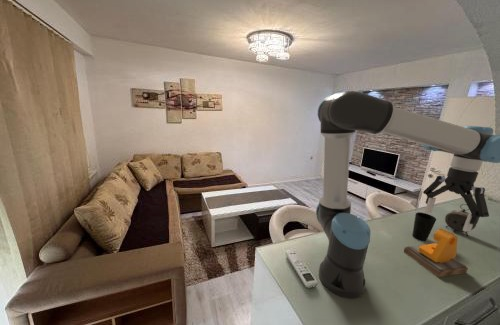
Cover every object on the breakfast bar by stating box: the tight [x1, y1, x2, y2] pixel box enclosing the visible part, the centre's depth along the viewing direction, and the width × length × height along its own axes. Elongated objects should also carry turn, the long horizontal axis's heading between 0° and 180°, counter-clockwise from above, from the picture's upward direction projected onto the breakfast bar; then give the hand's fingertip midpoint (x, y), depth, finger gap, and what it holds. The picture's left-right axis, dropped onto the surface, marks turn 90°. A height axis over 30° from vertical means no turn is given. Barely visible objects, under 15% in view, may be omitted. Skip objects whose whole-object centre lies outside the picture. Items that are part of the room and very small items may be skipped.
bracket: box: [418, 228, 458, 263], centre depth 82 cm, size 11×7×12 cm, turn 106°
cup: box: [412, 211, 437, 242], centre depth 99 cm, size 8×8×12 cm
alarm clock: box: [444, 203, 477, 237], centre depth 105 cm, size 11×5×16 cm, turn 29°
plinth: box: [403, 244, 469, 278], centre depth 84 cm, size 14×14×3 cm
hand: (445, 220), depth 79 cm, fingers open, 13 cm apart
